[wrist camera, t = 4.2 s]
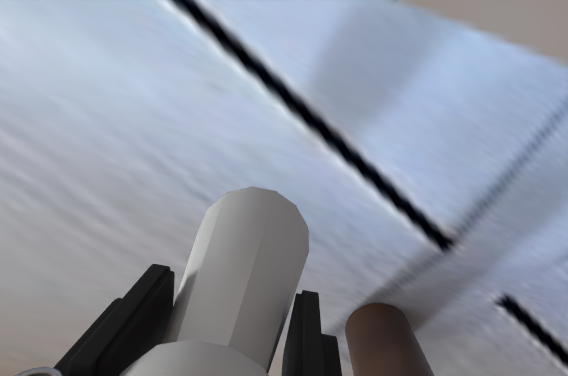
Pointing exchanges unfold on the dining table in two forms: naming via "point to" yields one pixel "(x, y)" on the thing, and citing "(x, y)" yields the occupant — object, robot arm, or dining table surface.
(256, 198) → the salt shaker
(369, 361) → the pepper mill
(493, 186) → the dining table surface
